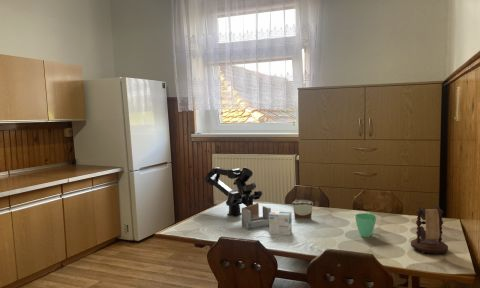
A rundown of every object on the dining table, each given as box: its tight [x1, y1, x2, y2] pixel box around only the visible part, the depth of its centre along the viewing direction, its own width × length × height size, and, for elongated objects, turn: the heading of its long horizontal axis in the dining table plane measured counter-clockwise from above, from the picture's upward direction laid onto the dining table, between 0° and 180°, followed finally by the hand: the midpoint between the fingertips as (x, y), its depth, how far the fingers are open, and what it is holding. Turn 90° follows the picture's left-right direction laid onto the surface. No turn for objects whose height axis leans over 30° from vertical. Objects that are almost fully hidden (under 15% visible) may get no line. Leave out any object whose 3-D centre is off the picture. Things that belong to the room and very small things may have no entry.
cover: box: [241, 202, 260, 221], centre depth 211 cm, size 1×14×10 cm, turn 139°
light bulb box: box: [268, 210, 293, 236], centre depth 194 cm, size 11×7×11 cm, turn 71°
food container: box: [291, 199, 315, 220], centre depth 220 cm, size 12×6×10 cm, turn 84°
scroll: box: [410, 205, 449, 254], centre depth 166 cm, size 15×15×20 cm
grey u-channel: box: [241, 205, 272, 231], centre depth 205 cm, size 6×16×10 cm, turn 118°
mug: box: [355, 212, 377, 238], centre depth 189 cm, size 15×10×10 cm
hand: (251, 209), depth 213 cm, fingers closed
